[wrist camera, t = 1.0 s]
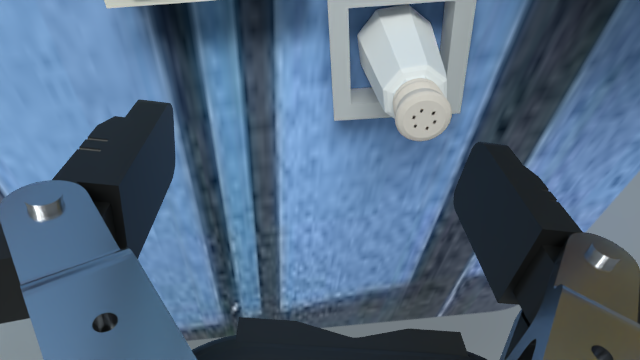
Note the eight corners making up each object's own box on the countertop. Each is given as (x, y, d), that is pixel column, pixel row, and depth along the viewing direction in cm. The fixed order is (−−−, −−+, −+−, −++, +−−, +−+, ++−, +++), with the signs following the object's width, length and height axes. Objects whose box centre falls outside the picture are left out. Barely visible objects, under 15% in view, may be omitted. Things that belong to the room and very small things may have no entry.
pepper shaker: (445, 12, 29) (500, 81, 20) (416, 85, 32) (453, 172, 23) (368, -7, 28) (389, 56, 19) (346, 70, 31) (356, 154, 22)
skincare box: (7, 233, 41) (-128, 395, 29) (65, 218, 40) (-50, 381, 28) (63, 287, 46) (-32, 445, 34) (116, 275, 45) (38, 435, 32)
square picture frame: (468, -33, 27) (479, -24, 25) (451, 97, 32) (460, 113, 30) (326, -22, 27) (326, -13, 25) (333, 104, 33) (334, 120, 31)
